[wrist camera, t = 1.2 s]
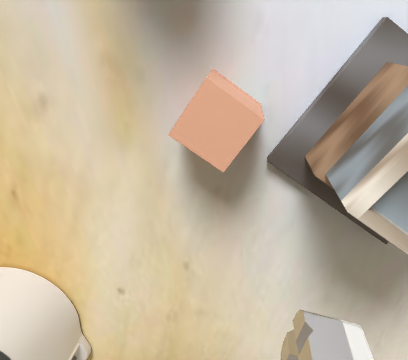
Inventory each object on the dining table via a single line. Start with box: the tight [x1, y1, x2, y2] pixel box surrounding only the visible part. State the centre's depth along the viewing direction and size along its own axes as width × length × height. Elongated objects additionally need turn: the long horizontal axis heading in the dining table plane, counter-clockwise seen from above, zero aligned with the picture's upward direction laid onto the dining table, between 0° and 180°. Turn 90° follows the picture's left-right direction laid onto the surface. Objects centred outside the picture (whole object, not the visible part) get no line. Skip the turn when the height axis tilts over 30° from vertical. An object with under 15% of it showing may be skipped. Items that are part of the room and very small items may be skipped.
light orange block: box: [168, 69, 265, 172], centre depth 28 cm, size 5×5×6 cm
